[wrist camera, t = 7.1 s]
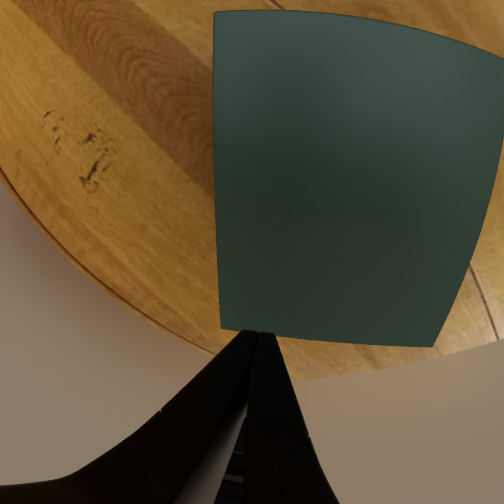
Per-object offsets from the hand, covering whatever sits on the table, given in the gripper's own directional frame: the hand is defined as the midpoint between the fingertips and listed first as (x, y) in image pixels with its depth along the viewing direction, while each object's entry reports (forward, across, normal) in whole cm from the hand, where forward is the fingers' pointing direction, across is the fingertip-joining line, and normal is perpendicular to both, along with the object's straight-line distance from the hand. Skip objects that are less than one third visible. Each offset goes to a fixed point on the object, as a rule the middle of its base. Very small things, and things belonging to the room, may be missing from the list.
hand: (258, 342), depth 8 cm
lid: (+6, -3, -2) cm, 7 cm away
